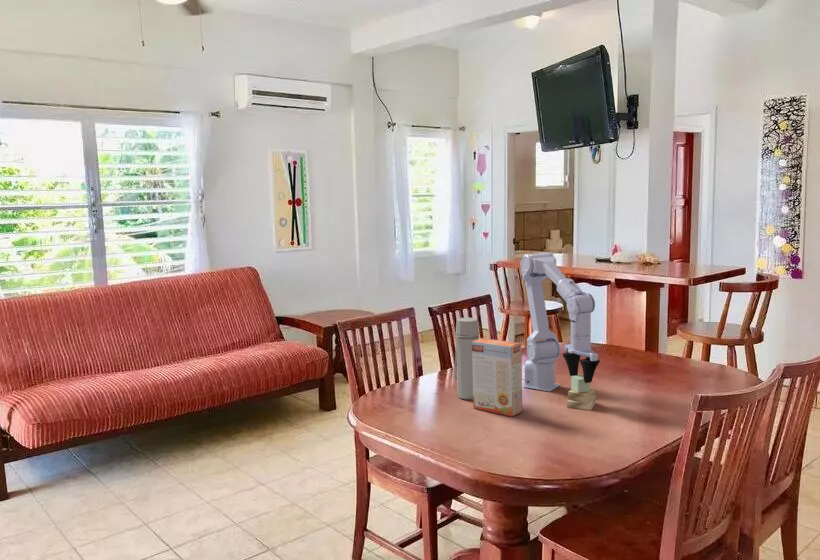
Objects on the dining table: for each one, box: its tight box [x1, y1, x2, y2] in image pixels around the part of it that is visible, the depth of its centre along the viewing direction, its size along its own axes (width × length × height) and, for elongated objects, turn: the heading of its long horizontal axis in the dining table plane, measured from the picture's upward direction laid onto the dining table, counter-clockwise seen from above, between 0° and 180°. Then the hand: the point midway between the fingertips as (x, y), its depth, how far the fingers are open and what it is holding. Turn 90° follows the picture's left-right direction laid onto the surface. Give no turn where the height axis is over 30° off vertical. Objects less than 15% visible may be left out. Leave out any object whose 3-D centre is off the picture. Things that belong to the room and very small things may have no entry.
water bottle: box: [453, 317, 480, 401], centre depth 212 cm, size 9×8×25 cm
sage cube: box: [570, 374, 591, 393], centre depth 201 cm, size 4×4×4 cm
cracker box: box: [472, 337, 523, 417], centre depth 198 cm, size 14×6×21 cm, turn 48°
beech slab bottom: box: [566, 398, 596, 411], centre depth 202 cm, size 7×7×2 cm
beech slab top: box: [567, 388, 597, 403], centre depth 201 cm, size 6×6×2 cm
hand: (580, 379), depth 201 cm, fingers open, 7 cm apart
